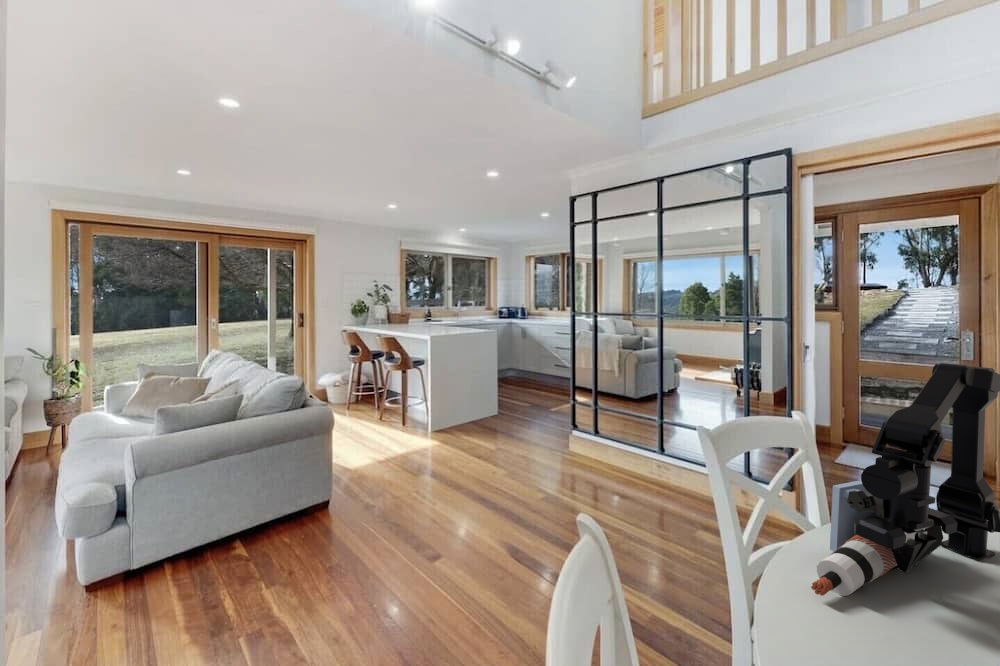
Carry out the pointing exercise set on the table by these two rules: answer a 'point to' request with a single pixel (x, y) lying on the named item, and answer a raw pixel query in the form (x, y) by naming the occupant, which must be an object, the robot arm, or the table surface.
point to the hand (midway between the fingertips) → (903, 571)
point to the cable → (861, 563)
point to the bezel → (844, 514)
